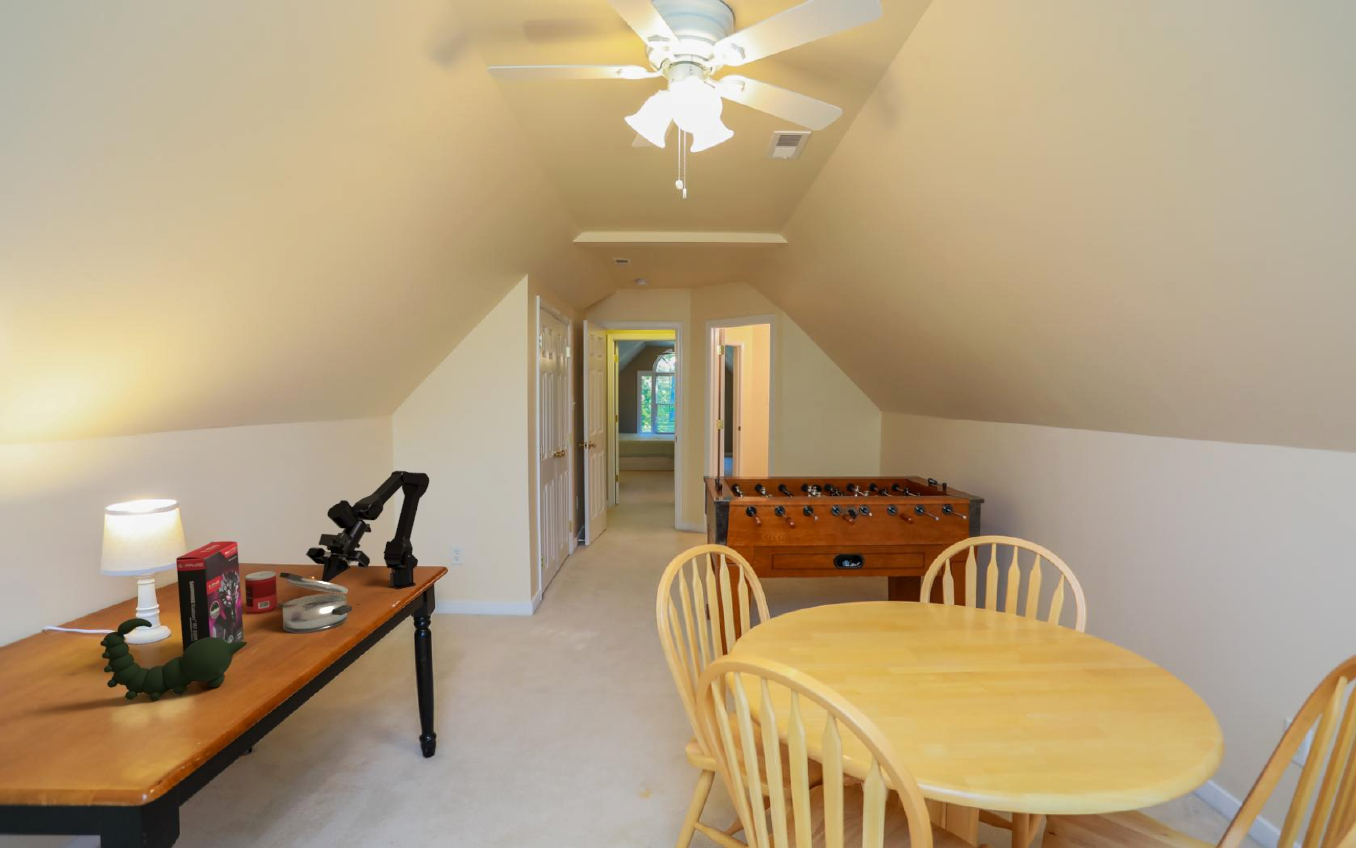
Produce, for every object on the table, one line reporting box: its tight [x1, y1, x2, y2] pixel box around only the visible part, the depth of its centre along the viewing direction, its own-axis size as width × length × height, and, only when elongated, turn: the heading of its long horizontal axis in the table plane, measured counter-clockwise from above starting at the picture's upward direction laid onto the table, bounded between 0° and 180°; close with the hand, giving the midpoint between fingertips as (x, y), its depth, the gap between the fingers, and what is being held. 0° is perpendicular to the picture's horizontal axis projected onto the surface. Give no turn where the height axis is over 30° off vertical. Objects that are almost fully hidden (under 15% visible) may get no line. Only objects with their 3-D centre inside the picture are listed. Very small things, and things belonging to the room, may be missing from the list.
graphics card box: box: [175, 540, 245, 654], centre depth 163 cm, size 17×7×27 cm, turn 12°
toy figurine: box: [99, 617, 248, 702], centre depth 143 cm, size 9×19×25 cm
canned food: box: [244, 570, 278, 615], centre depth 197 cm, size 8×8×11 cm
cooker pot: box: [278, 593, 353, 634], centre depth 186 cm, size 16×22×6 cm
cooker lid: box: [279, 572, 349, 595], centre depth 185 cm, size 21×16×3 cm
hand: (323, 583), depth 188 cm, fingers closed
